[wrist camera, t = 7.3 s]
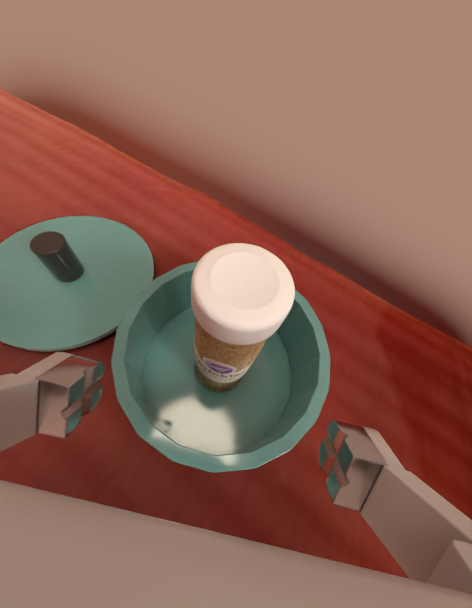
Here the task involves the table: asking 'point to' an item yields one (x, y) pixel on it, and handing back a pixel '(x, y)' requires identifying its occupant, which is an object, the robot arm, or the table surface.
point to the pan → (209, 404)
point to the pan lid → (69, 281)
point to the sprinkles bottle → (236, 310)
